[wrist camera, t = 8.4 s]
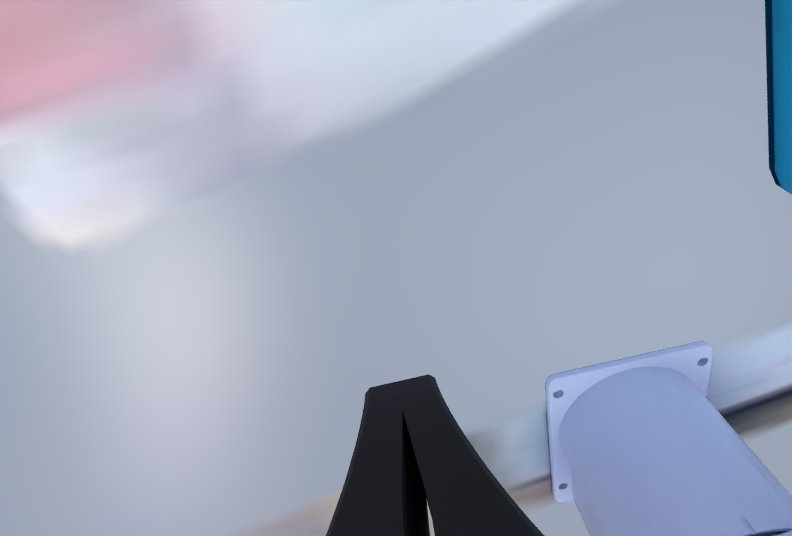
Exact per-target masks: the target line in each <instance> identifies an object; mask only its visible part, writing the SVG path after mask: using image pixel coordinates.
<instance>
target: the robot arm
mask: <svg viewBox="0 0 792 536" xmlns="http://www.w3.org/2000/svg"><path fill="white" fill-rule="evenodd" d="M713 352H714V350H713V347H712V346H711V345H710V344H709V343H708V342H706V341H700V342H695V343H691V344H686V345H682V346H677V347H673V348H668V349H664V350H659V351H655V352H650V353H646V354H641V355H637V356H633V357H628V358H624V359H619V360H615V361H610V362H606V363H601V364H597V365H592V366H588V367H583V368H579V369H574V370H570V371H566V372H561V373H557V374H553V375H551V376H549V377H548V378H547V380H546V382H545V389H546V404H547V418H548V433H549V447H550V462H551V476H552V491H553V496H554V498H555V501H557V502H559V503H565V502H569V501H575V503H576V505H577V508H578V510H579V512H580V514H581V517H582V519H583V521H584V523H585V525H586V528H587V530H588V532H589V534H590V536H792V496H791V495H790V494H789V493H788V491H787V490H786V489H785V488H784V487H783V486H782V485H781V483H780V482H779V481H778V480H777V479H776V477H775V476H774V475H773V474H772V473H771V472H770V471H769V469H768V468H767V467H766V466H765V465H764V464H763V463H762V461H761V460H760V459H759V458H758V457H757V456H756V455H755V453H754V452H753V451H752V450H751V449H750V448H749V447H748V445H747V444H746V443H745V442H744V441H743V440H742V438H741V437H740V436H739V435H738V434H737V433H736V432H735V430H734V429H733V428H732V427H731V426H730V425H729V424H728V422H727V421H726V420H725V419H724V418H723V417H722V416H721V414H720V413H719V412H718V411H717V410H716V409H715V408H714V406H713V405H712V404H711V403H710V402H709V401H708V400H707V392H708V385H709V378H710V372H711V365H712V358H713ZM557 390H559V391H558V392H555V391H557ZM426 498H427V500H426ZM427 502H428V506H429V509H430V513H431V516H432V520H433V526H434V532H435V536H544V535H543V534H542V533H541V532H540V531H539V529H538V528H537V527H536V526H535V525H534V524H533V523H532V522H531V520H530V519H529V518H528V517H527V516H526V515H525V514H524V512H523V511H522V510H521V509H520V508H519V507H518V505H517V504H516V503H515V502H514V501H513V499H512V498H511V497H510V496H509V495H508V493H507V492H506V491H505V489H504V488H503V487H502V486H501V484H500V483H499V482H498V481H497V479H496V478H495V477H494V476H493V474H492V473H491V472H490V470H489V469H488V468H487V466H486V465H485V463H484V462H483V461H482V459H481V458H480V457H479V455H478V454H477V452H476V451H475V449H474V448H473V446H472V445H471V443H470V442H469V441H468V439H467V438H466V436H465V435H464V433H463V432H462V430H461V428H460V427H459V426H458V424H457V422H456V420H455V419H454V417H453V415H452V414H451V412H450V410H449V408H448V406H447V405H446V403H445V401H444V399H443V397H442V395H441V393H440V390H439V388H438V386H437V383H436V380H435V378H434V377H432V376H430V375H425V376H420V377H416V378H411V379H407V380H403V381H398V382H393V383H389V384H384V385H380V386H376V387H371V388H369V390H368V391H367V392H366V394H365V403H364V409H363V415H362V420H361V425H360V429H359V433H358V438H357V441H356V446H355V449H354V453H353V456H352V460H351V463H350V467H349V470H348V474H347V477H346V480H345V483H344V487H343V490H342V493H341V495H340V498H339V501H338V504H337V507H336V509H335V512H334V515H333V518H332V521H331V524H330V526H329V529H328V532H327V534H326V536H430V532H429V521H428V510H427Z"/></svg>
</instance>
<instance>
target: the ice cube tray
mask: <svg viewBox="0 0 792 536" xmlns="http://www.w3.org/2000/svg"><path fill="white" fill-rule="evenodd" d="M765 28H766V65H767V66H766V68H767V110H768V149H769V150H768V151H769V169H770V171H771V174H772V176H773V179H774V181H775V184H776V185H778V186H779V187H781V188H783V189H784V190H786V191H787V192H789V193H791V194H792V0H765Z"/></svg>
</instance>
